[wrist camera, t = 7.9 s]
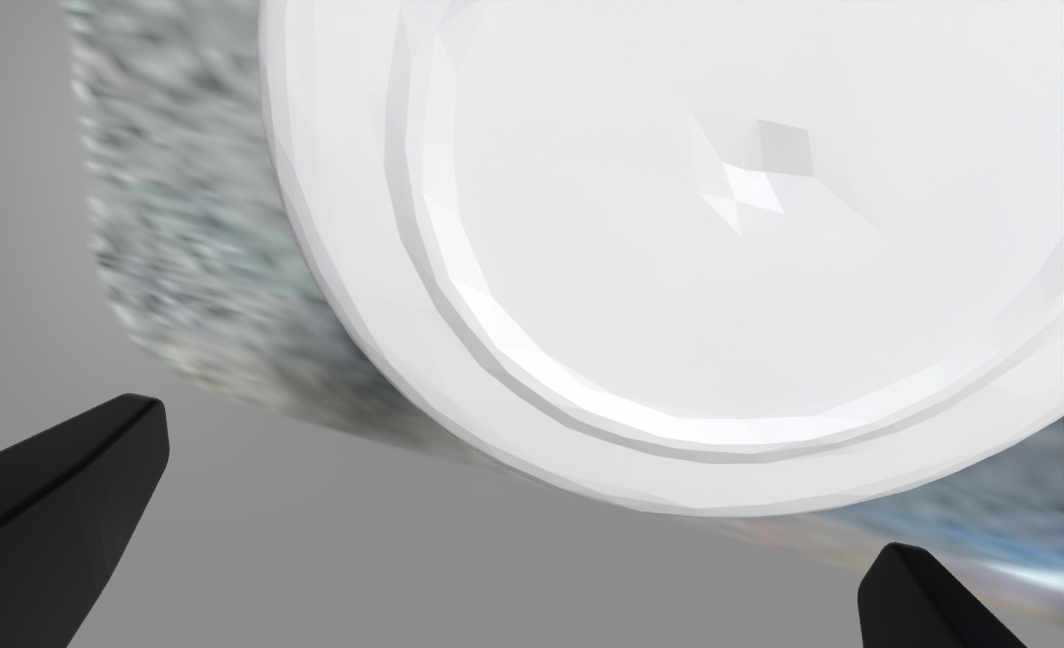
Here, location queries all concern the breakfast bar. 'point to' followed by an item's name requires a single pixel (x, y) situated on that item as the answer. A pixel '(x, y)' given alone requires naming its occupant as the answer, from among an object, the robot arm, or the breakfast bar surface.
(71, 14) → the breakfast bar surface
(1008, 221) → the sprinkles bottle
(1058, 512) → the breakfast bar surface
